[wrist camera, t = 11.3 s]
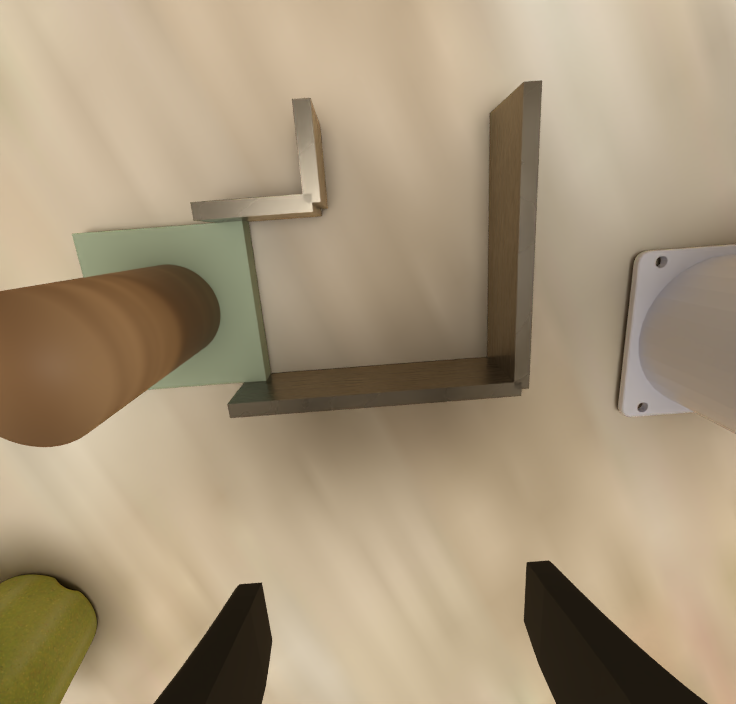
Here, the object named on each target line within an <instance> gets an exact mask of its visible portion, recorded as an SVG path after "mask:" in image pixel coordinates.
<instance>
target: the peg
mask: <svg viewBox="0 0 736 704" xmlns="http://www.w3.org/2000/svg"><path fill="white" fill-rule="evenodd" d="M219 325H220V307H219V303H218V300H217V298H216V295H215V293H214V292H213V290H212V288H211V287H210V286H209V284H208V283H207V282H206V281H205V280H204V279H203V278H202V277H200V276H199V275H198V274H196V273H195V272H193V271H191V270H189V269H187V268H184V267H182V266H177V265H170V264H166V265H157V266H151V267H145V268H139V269H133V270H127V271H121V272H115V273H109V274H102V275H96V276H90V277H84V278H78V279H72V280H66V281H60V282H54V283H48V284H42V285H35V286H29V287H23V288H17V289H11V290H5V291H0V437H2V438H4V439H7V440H9V441H12V442H15V443H18V444H23V445H28V446H35V447H53V446H60V445H64V444H68V443H71V442H73V441H75V440H78V439H80V438H81V437H83V436H84V435H86V434H88V433H89V432H90V431H92V430H93V429H94V428H96V427H97V426H98V425H100V424H101V423H103V422H104V421H105V420H107V419H108V418H109V417H111V416H112V415H113V414H115V413H116V412H118V411H119V410H120V409H122V408H123V407H124V406H126V405H127V404H128V403H130V402H131V401H133V400H134V399H135V398H137V397H138V396H139V395H141V394H142V393H143V392H145V391H146V390H148V389H149V388H150V387H152V386H153V385H154V384H156V383H157V382H159V381H160V380H161V379H163V378H164V377H165V376H167V375H168V374H169V373H171V372H172V371H174V370H175V369H176V368H178V367H179V366H180V365H182V364H183V363H184V362H186V361H187V360H189V359H190V358H191V357H193V356H194V355H195V354H197V353H198V352H199V351H201V350H202V349H204V348H205V347H206V346H207V345H208V344H209V343H210V342H211V341H212V340H213V339H214V337H215V336H216V333H217V331H218V328H219Z"/></svg>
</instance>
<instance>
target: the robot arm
mask: <svg viewBox="0 0 736 704" xmlns="http://www.w3.org/2000/svg"><path fill="white" fill-rule="evenodd" d="M658 257H660V258H661V262H660V264H659V265H658V266H656V260H657V258H658ZM640 403H643V404H642V406H641V407H640V408H639V409H637V407H638V405H639V404H640ZM618 410H619V411H620V413H622V414H623V415H625V416H627V417H638V416H651V415H664V414H677V413H690V412H695V413H697V414H699V415H701V416H703V417H705V418H707V419H709V420H711V421H713V422H715V423H716V424H718V425H720V426H722V427H724V428H726V429H728V430H730V431H732V432H734V433H736V244H730V245H717V246H703V247H690V248H677V249H664V250H650V251H644V252H641V253H640V254H638V255H637V257H636V258H635V261H634V266H633V275H632V284H631V293H630V302H629V311H628V320H627V329H626V338H625V347H624V356H623V365H622V375H621V384H620V393H619V402H618ZM524 623H525V626H526V629H527V632H528V635H529V638H530V641H531V644H532V647H533V649H534V652H535V655H536V658H537V661H538V664H539V666H540V668H541V671H542V673H543V675H544V677H545V680H546V682H547V684H548V686H549V689H550V691H551V693H552V695H553V697H554V700H555V702H556V704H707V703H706V702H705V701H704V700H702V699H701V698H700V697H698V696H697V695H696V694H695V693H693V692H692V691H691V690H689V689H688V688H687V687H686V686H685V685H683V684H682V683H681V682H680V681H678V680H677V679H676V678H675V677H674V676H672V675H671V674H670V673H669V672H668V671H666V670H665V669H664V668H663V667H662V666H661V665H660V664H658V663H657V662H656V661H655V660H654V659H653V658H651V657H650V656H649V655H648V654H647V653H646V652H644V651H643V650H642V649H641V648H640V647H639V646H638V645H637V644H636V643H634V642H633V641H632V640H631V639H630V638H629V637H628V636H627V635H626V634H625V633H623V632H622V631H621V630H620V629H619V628H618V627H617V626H616V625H615V624H614V623H613V622H612V621H611V620H609V619H608V618H607V617H606V616H605V615H604V614H603V613H602V612H601V611H600V610H599V609H598V608H597V607H596V606H595V605H594V604H593V603H592V602H591V601H590V600H589V599H588V598H587V597H586V596H585V595H584V594H583V593H582V592H580V591H579V590H578V589H577V588H576V587H575V586H574V585H573V584H572V583H571V582H570V581H569V580H568V579H567V578H566V577H565V576H564V575H563V574H562V573H561V572H560V571H559V570H558V569H557V568H556V567H555V566H554V565H553V564H552V563H551V562H550V561H537V562H527V566H526V587H525V608H524ZM271 646H272V636H271V630H270V625H269V619H268V614H267V608H266V603H265V597H264V592H263V587H262V583H251V584H239V585H238V586H237V588H236V589H235V590H234V592H233V593H232V595H231V596H230V598H229V600H228V601H227V603H226V604H225V606H224V607H223V609H222V610H221V612H220V613H219V615H218V616H217V618H216V619H215V621H214V622H213V624H212V625H211V626H210V628H209V629H208V631H207V632H206V634H205V635H204V637H203V638H202V640H201V641H200V642H199V644H198V645H197V647H196V648H195V649H194V651H193V652H192V654H191V655H190V656H189V658H188V659H187V660H186V662H185V663H184V665H183V666H182V667H181V669H180V670H179V671H178V673H177V674H176V675H175V677H174V678H173V679H172V681H171V682H170V683H169V684H168V686H167V687H166V688H165V690H164V691H163V692H162V694H161V695H160V696H159V697H158V699H157V700H156V701H155V703H154V704H262V700H263V696H264V691H265V687H266V681H267V674H268V668H269V661H270V654H271Z"/></svg>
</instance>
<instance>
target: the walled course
mask: <svg viewBox="0 0 736 704" xmlns="http://www.w3.org/2000/svg"><path fill="white" fill-rule="evenodd" d="M541 94H542V81H529V82H523V83H522V84H521V85H520V86H519V87H518V88H517V89H516V90H515V91H513V92H512V93H511V94H510V95H509V96H508V97H507V98H506V99H505V100H504V101H503V102H502V103H501V104H500V105H498V106H497V107H496V108H495V109H494V110H493V111H492V112H491V113H490V164H489V252H488V341H487V357H482V358H469V359H456V360H443V361H429V362H416V363H403V364H390V365H377V366H364V367H350V368H337V369H324V370H311V371H298V372H285V373H271V374H270V376H269V377H268V379H267V380H266V381H256V382H244V384H243V385H242V386H241V388H240V389H239V390H238V391H237V393H236V394H235V395H234V397H233V398H232V399H231V400H230V402H229V403H228V410H229V415H230V418H236V417H250V416H263V415H276V414H289V413H302V412H315V411H328V410H342V409H355V408H368V407H381V406H394V405H407V404H420V403H434V402H447V401H460V400H473V399H486V398H499V397H512V396H521V389H527V388H529V375H530V352H531V328H532V305H533V281H534V258H535V234H536V211H537V188H538V164H539V141H540V117H541ZM292 103H293V112H294V122H295V131H296V140H297V149H298V158H299V167H300V176H301V185H302V194H295V195H282V196H269V197H255V198H242V199H229V200H215V201H202V202H190V203H191V209H192V214H193V220H194V221H204V222H215V223H221V222H235V221H246V222H252V221H265V220H279V219H292V218H305V217H318V216H322V213H321V209H327V208H328V204H327V193H326V182H325V172H324V161H323V151H322V140H321V129H320V124H319V121H318V118H317V115H316V113H315V110H314V107H313V104H312V101H311V98H302V99H292Z"/></svg>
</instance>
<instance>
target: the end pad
mask: <svg viewBox="0 0 736 704" xmlns="http://www.w3.org/2000/svg"><path fill="white" fill-rule="evenodd" d="M72 236H73V240H74V244H75V247H76V251H77V255H78V259H79V262H80V266H81V270H82V274H83V277H90V276H96V275H102V274H109V273H115V272H121V271H127V270H133V269H139V268H145V267H151V266H157V265H166V264H170V265H177V266H182V267H184V268H187V269H189V270H191V271H193V272H195V273H196V274H198V275H199V276H200V277H202V278H203V279H204V280H205V281H206V282H207V283H208V284H209V286H210V287H211V288H212V290H213V292H214V293H215V295H216V298H217V300H218V303H219V307H220V325H219V328H218V331H217V333H216V336H215V337H214V339H213V340H212V341H211V342H210V343H209V344H208V345H207V346H206V347H205V348H204V349H202V350H201V351H199V352H198V353H197V354H195V355H194V356H193V357H191V358H190V359H189V360H187V361H186V362H184V363H183V364H182V365H180V366H179V367H178V368H176V369H175V370H174V371H172V372H171V373H169V374H168V375H167V376H165V377H164V378H163V379H161V380H160V381H159V382H157V383H156V384H154V385H153V386H152V387H150V388H149V389H148V390H151V389H164V388H177V387H190V386H203V385H216V384H230V383H243V382H256V381H266V380H267V379H268V377H269V376H270V374H271V371H270V364H269V358H268V351H267V344H266V337H265V331H264V324H263V317H262V310H261V304H260V297H259V290H258V283H257V277H256V270H255V263H254V256H253V250H252V243H251V236H250V229H249V223H248V222H246V221H235V222H221V223H208V224H195V225H181V226H168V227H155V228H142V229H128V230H115V231H102V232H88V233H75V234H72Z"/></svg>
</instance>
